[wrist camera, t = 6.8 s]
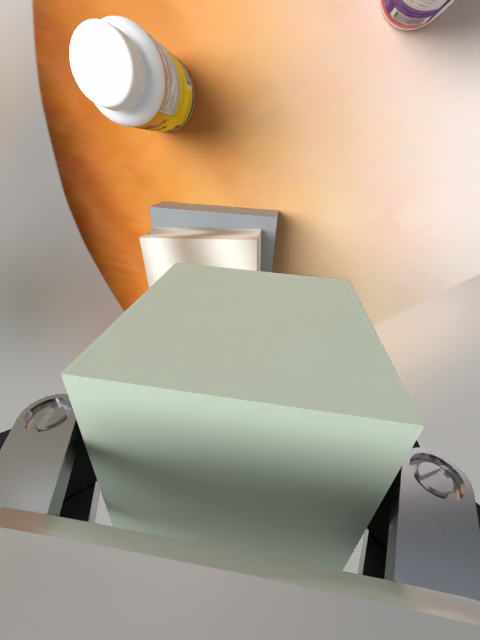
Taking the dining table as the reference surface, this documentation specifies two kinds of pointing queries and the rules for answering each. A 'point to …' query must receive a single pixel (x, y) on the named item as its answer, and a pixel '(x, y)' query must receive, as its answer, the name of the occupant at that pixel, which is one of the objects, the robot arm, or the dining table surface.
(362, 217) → the dining table surface
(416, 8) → the pill bottle
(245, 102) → the dining table surface
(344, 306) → the sage block
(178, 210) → the base block
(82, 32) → the supplement bottle
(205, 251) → the top block
